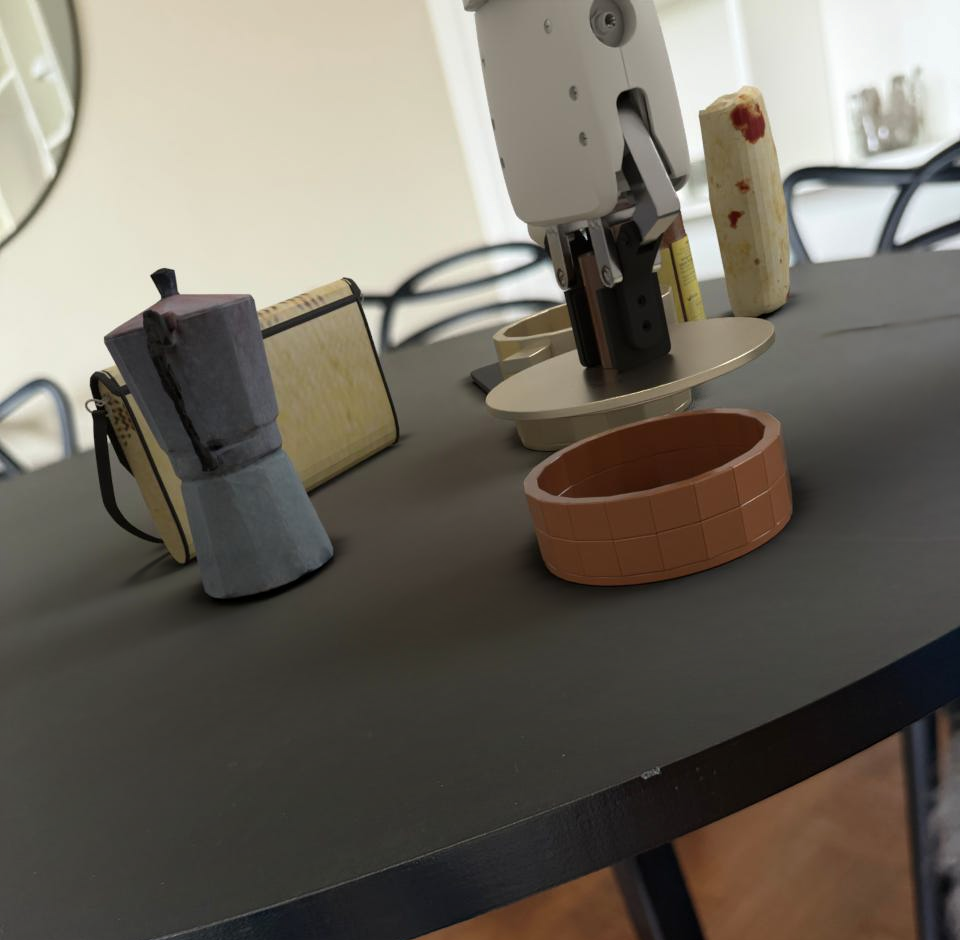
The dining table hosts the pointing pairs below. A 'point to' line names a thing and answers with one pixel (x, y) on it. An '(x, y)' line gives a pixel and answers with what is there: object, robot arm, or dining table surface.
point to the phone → (488, 376)
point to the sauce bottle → (677, 270)
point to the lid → (603, 389)
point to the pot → (555, 337)
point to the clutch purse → (300, 398)
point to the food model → (747, 201)
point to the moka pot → (221, 437)
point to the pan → (661, 497)
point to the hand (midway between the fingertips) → (625, 357)
